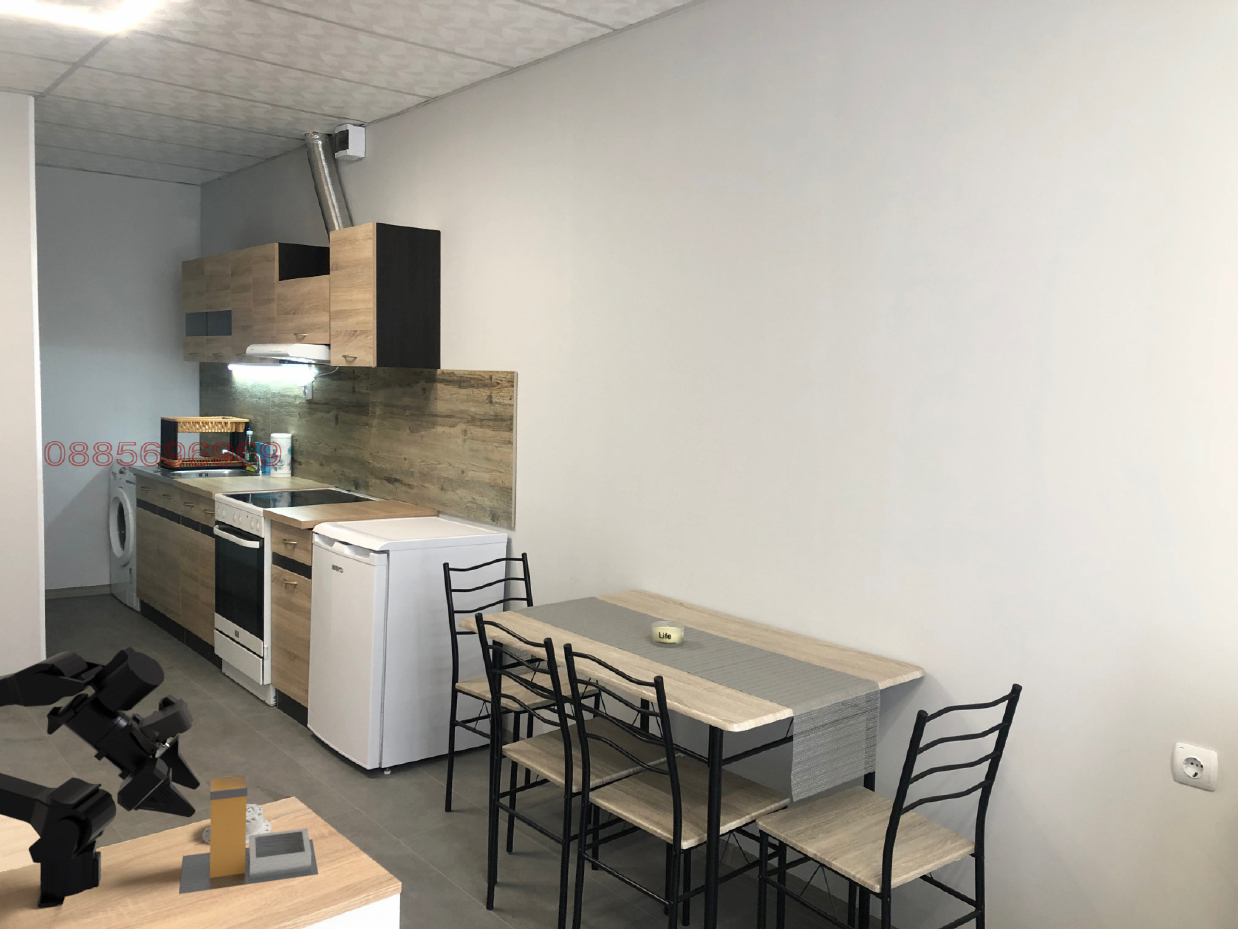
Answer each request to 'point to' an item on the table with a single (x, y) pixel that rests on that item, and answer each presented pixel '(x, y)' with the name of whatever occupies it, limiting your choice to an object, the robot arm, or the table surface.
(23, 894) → the table surface
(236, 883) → the grey socket base plate
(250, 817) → the mechanical component
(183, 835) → the table surface
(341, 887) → the table surface
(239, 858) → the capped orange pillar
